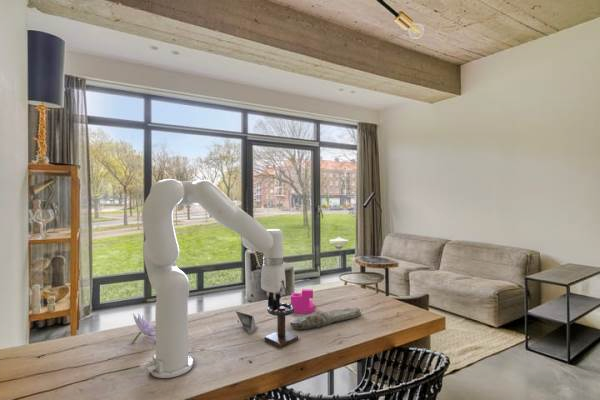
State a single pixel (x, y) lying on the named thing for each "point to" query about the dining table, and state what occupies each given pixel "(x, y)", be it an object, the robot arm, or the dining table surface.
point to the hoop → (281, 313)
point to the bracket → (302, 301)
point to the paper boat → (247, 321)
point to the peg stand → (281, 333)
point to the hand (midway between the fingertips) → (273, 308)
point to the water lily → (144, 328)
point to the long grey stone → (324, 318)
